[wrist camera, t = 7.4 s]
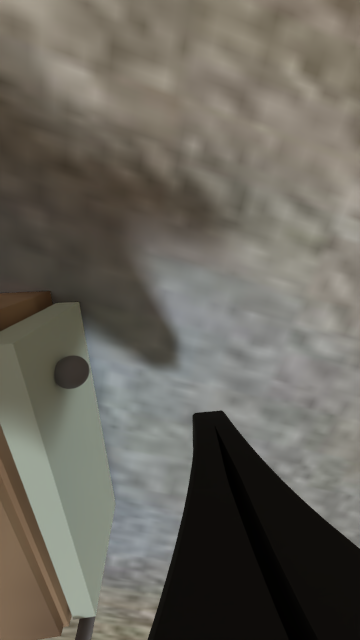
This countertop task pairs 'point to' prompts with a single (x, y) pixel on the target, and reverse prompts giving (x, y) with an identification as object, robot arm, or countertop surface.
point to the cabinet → (27, 532)
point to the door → (59, 445)
